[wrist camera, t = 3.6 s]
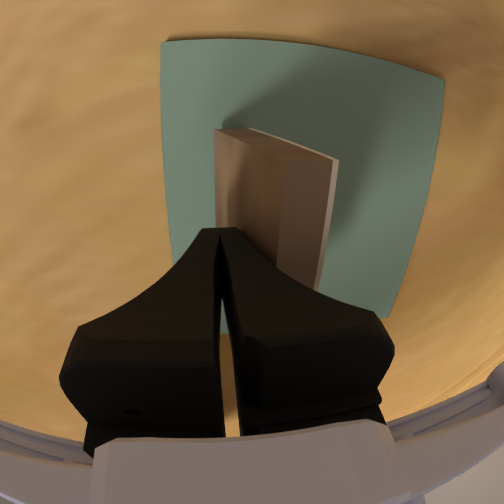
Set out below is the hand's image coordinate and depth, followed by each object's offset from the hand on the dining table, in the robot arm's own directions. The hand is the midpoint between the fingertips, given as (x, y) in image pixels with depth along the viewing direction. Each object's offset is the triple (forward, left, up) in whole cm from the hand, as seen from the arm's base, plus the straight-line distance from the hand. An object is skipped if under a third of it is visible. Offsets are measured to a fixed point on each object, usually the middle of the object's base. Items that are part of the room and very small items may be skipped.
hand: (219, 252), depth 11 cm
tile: (0, -1, -3) cm, 3 cm away
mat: (0, -5, -4) cm, 6 cm away
